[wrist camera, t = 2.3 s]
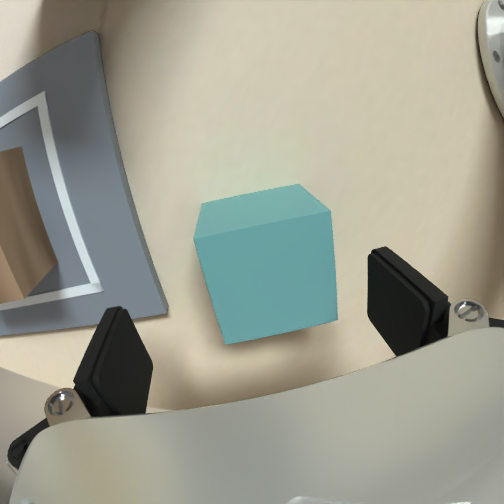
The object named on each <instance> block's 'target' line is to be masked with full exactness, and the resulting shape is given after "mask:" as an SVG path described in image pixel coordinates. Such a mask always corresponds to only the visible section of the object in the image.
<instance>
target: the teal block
mask: <svg viewBox="0 0 504 504" xmlns="http://www.w3.org/2000/svg"><path fill="white" fill-rule="evenodd" d="M194 243H195V246H196V250H197V253H198V257H199V260H200V264H201V267H202V271H203V274H204V277H205V281H206V284H207V288H208V291H209V294H210V297H211V301H212V304H213V307H214V310H215V314H216V317H217V320H218V323H219V326H220V329H221V332H222V335H223V338H224V342H225V345H227V344H232V343H238V342H243V341H248V340H253V339H258V338H263V337H268V336H273V335H277V334H282V333H286V332H291V331H295V330H299V329H304V328H308V327H312V326H316V325H320V324H324V323H328V322H332V321H336V320H338V313H337V289H336V271H335V256H334V243H333V231H332V220H331V211H330V210H329V209H328V208H327V207H326V206H324V205H323V204H322V203H321V202H320V201H319V200H317V199H316V198H315V197H314V196H313V195H312V194H310V193H309V192H308V191H307V190H306V189H304V188H303V187H302V186H301V185H300V184H296V185H290V186H285V187H279V188H274V189H269V190H264V191H259V192H254V193H249V194H244V195H239V196H234V197H230V198H225V199H220V200H216V201H211V202H207V203H202V207H201V210H200V214H199V218H198V223H197V227H196V231H195V235H194Z"/></svg>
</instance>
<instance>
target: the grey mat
mask: <svg viewBox="0 0 504 504" xmlns="http://www.w3.org/2000/svg"><path fill="white" fill-rule="evenodd" d="M21 146H22V150H23V154H24V158H25V162H26V166H27V170H28V174H29V178H30V182H31V185H32V189H33V192H34V195H35V199H36V202H37V205H38V208H39V211H40V214H41V217H42V220H43V223H44V226H45V229H46V232H47V234H48V237H49V240H50V242H51V245H52V248H53V250H54V253H55V255H56V258H57V260H58V263H57V264H56V265H55V266H54V267H53V268H52V269H51V270H50V272H49V273H48V274H47V275H46V276H45V277H44V278H43V279H42V280H41V281H40V282H39V283H38V284H37V286H36V287H35V288H34V289H33V290H32V291H31V292H30V293H29V294H28V296H27V297H26V298H25V299H22V300H17V301H12V302H7V303H2V304H0V335H11V334H21V333H30V332H40V331H48V330H57V329H65V328H73V327H80V326H88V325H95V324H99V322H100V320H101V318H102V316H103V314H104V312H105V310H106V309H107V308H110V307H116V306H121V307H122V308H123V309H127V310H128V312H129V315H130V317H131V319H136V318H142V317H148V316H154V315H160V314H166V313H167V310H168V303H167V300H166V298H165V295H164V292H163V290H162V287H161V284H160V282H159V279H158V276H157V273H156V270H155V268H154V265H153V262H152V259H151V256H150V253H149V250H148V247H147V244H146V241H145V238H144V235H143V232H142V228H141V225H140V222H139V219H138V215H137V212H136V209H135V205H134V202H133V198H132V195H131V191H130V188H129V184H128V181H127V177H126V173H125V169H124V165H123V161H122V158H121V153H120V149H119V145H118V141H117V137H116V132H115V128H114V123H113V119H112V114H111V109H110V104H109V99H108V94H107V88H106V83H105V77H104V71H103V64H102V58H101V51H100V44H99V36H98V33H96V32H94V31H93V30H92V31H90V32H87V33H85V34H83V35H81V36H79V37H76V38H74V39H72V40H70V41H68V42H66V43H64V44H62V45H60V46H58V47H56V48H55V49H53V50H51V51H49V52H47V53H45V54H44V55H42V56H40V57H38V58H37V59H35V60H33V61H32V62H30V63H28V64H27V65H25V66H23V67H22V68H20V69H19V70H17V71H16V72H14V73H13V74H11V75H10V76H8V77H7V78H5V79H4V80H2V81H1V82H0V152H1V151H5V150H9V149H13V148H17V147H21Z"/></svg>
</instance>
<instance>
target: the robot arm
mask: <svg viewBox="0 0 504 504" xmlns="http://www.w3.org/2000/svg"><path fill="white" fill-rule="evenodd" d="M478 38H479V47H480V52H481V58H482V62H483V66H484V70H485V74H486V77H487V80H488V83H489V86H490V89H491V92H492V94H493V97H494V99H495V101H496V104H497V106H498V108H499V110H500V112H501V114H502V116H503V118H504V0H485V1H484V3H483V4H482V6H481V8H480V12H479V16H478ZM367 314H368V317H369V320H370V321H371V322H372V324H373V325H374V327H375V328H376V329H377V331H378V332H379V333H380V335H381V336H382V337H383V339H384V340H385V342H386V343H387V344H388V346H389V347H390V348H391V350H392V351H393V353H394V354H395V355H396V357H395V358H392V359H389V360H387V361H384V362H381V363H378V364H375V365H373V366H370V367H367V368H364V369H361V370H358V371H355V372H352V373H348V374H345V375H342V376H339V377H335V378H332V379H328V380H325V381H321V382H318V383H314V384H311V385H307V386H303V387H299V388H295V389H291V390H287V391H283V392H279V393H275V394H270V395H266V396H261V397H256V398H251V399H246V400H241V401H236V402H230V403H225V404H219V405H213V406H206V407H200V408H192V409H185V410H177V411H168V412H158V413H147V414H145V412H146V407H147V400H148V394H149V388H150V382H151V377H152V371H153V363H152V360H151V358H150V356H149V354H148V352H147V350H146V348H145V346H144V344H143V342H142V340H141V338H140V336H139V334H138V332H137V330H136V328H135V325H134V323H133V321H132V319H131V317H130V315H129V312H128V310H127V309H123V308H122V307H121V306H116V307H110V308H107V309H106V310H105V312H104V314H103V316H102V318H101V320H100V322H99V324H98V326H97V328H96V330H95V333H94V335H93V337H92V339H91V341H90V343H89V345H88V348H87V350H86V352H85V354H84V357H83V359H82V361H81V363H80V366H79V368H78V370H77V373H76V375H75V377H74V380H73V382H74V383H75V386H74V389H71V388H63V389H60V390H58V391H55V392H54V393H53V394H52V395H51V396H50V397H49V398H48V399H47V401H46V403H45V407H44V411H45V414H46V418H45V419H44V420H42V421H41V422H40V423H38V424H37V425H35V426H34V427H33V428H31V429H30V430H28V431H27V432H25V433H24V434H22V435H21V436H20V437H18V438H17V439H16V440H14V441H13V442H12V443H11V445H10V447H9V450H8V460H9V462H8V463H6V462H5V461H4V462H3V463H2V465H0V504H504V320H499V319H493V318H488V312H487V309H486V307H485V306H484V305H483V304H481V303H480V302H478V301H476V300H473V299H459V300H456V301H454V302H453V303H452V304H450V303H449V302H448V296H447V295H446V294H444V293H443V292H442V291H441V290H440V289H439V288H437V287H436V286H435V285H434V284H433V283H431V282H430V281H429V280H428V279H427V278H425V277H424V276H423V275H422V274H421V273H419V272H418V271H417V270H416V269H414V268H413V267H412V266H411V265H409V264H408V263H407V262H406V261H404V260H403V259H402V258H401V257H399V256H398V255H397V254H396V253H394V252H393V251H392V250H390V249H389V248H388V247H386V246H385V247H381V248H377V249H373V250H372V252H371V254H369V255H368V302H367Z"/></svg>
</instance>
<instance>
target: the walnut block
mask: <svg viewBox="0 0 504 504" xmlns="http://www.w3.org/2000/svg"><path fill="white" fill-rule="evenodd" d="M57 263H58V260H57V258H56V255H55V253H54V250H53V248H52V245H51V242H50V240H49V237H48V234H47V232H46V229H45V226H44V223H43V220H42V217H41V214H40V211H39V208H38V205H37V202H36V199H35V195H34V192H33V189H32V185H31V182H30V178H29V174H28V170H27V166H26V162H25V158H24V154H23V150H22V146H21V147H17V148H13V149H9V150H5V151H1V152H0V304H2V303H7V302H12V301H17V300H22V299H25V298H26V297H27V296H28V294H29V293H30V292H31V291H32V290H33V289H34V288H35V287H36V286H37V284H38V283H39V282H40V281H41V280H42V279H43V278H44V277H45V276H46V275H47V274H48V273H49V272H50V270H51V269H52V268H53V267H54V266H55V265H56V264H57Z"/></svg>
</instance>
